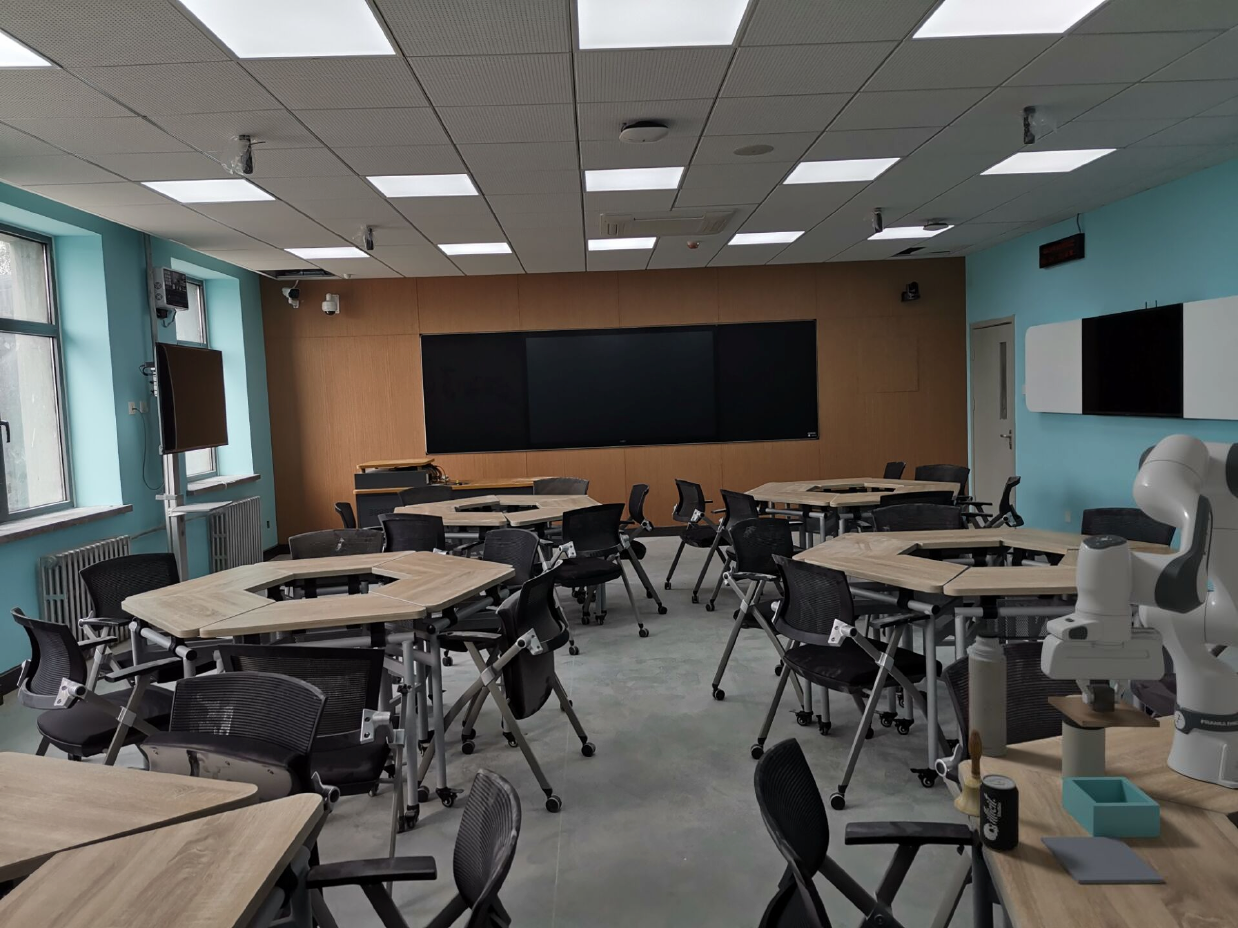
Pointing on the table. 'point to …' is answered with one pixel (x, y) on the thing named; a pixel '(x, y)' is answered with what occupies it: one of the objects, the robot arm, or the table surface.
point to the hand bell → (972, 780)
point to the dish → (1110, 807)
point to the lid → (1103, 710)
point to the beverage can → (999, 812)
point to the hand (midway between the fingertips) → (1101, 702)
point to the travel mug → (1082, 749)
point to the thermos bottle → (988, 692)
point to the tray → (1100, 860)
